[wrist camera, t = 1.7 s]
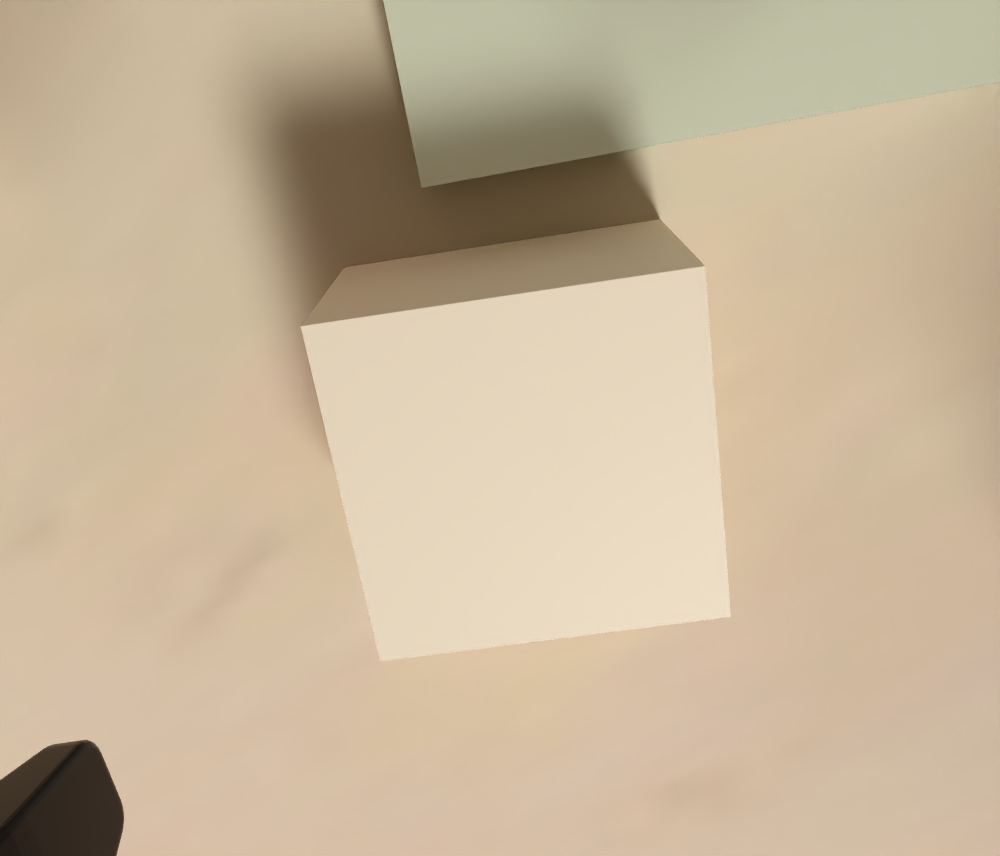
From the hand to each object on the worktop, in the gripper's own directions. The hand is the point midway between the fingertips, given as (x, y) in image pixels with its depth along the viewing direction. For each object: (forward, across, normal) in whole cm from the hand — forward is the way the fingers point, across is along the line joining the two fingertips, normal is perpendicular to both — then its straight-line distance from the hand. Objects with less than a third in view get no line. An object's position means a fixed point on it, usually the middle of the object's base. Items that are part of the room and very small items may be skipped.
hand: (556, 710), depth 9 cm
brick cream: (+9, 0, 0) cm, 9 cm away
